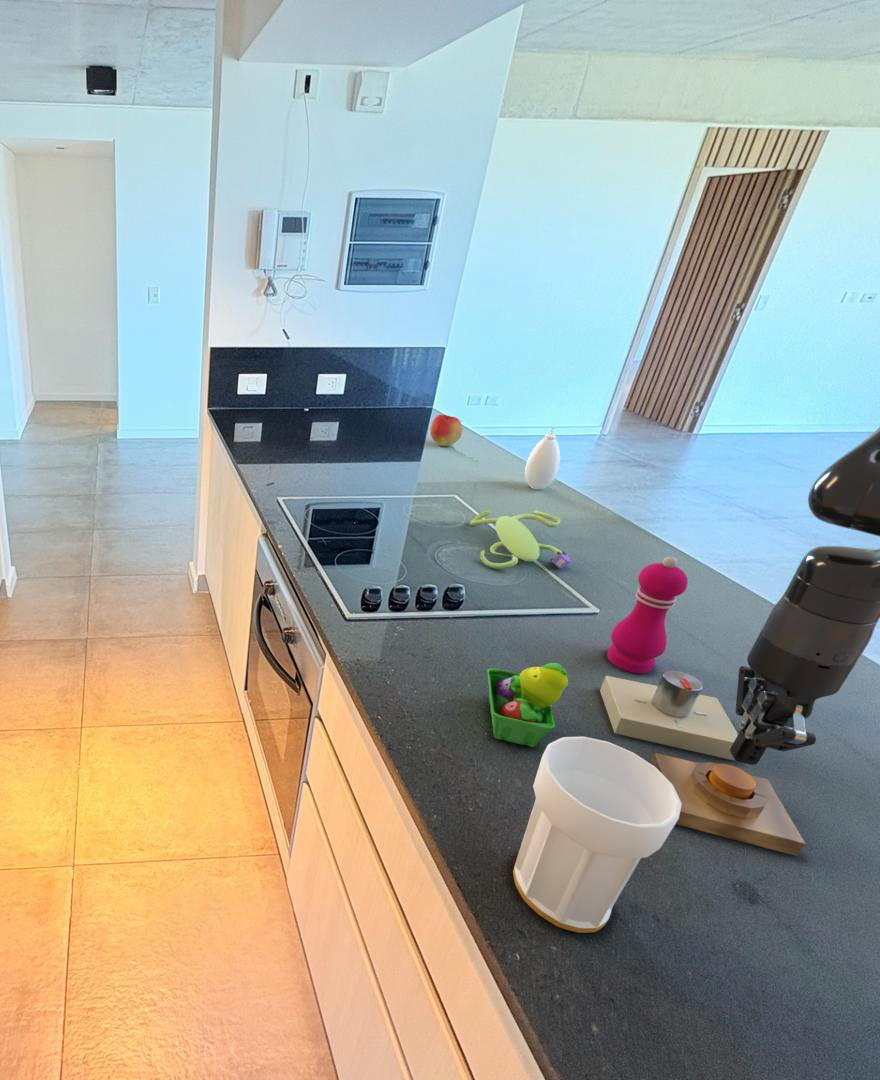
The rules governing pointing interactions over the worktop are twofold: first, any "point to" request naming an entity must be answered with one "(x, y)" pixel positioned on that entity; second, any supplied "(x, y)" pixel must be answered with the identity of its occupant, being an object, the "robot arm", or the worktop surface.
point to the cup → (590, 830)
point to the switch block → (729, 807)
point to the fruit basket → (525, 702)
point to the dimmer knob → (676, 693)
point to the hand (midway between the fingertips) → (742, 758)
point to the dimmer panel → (667, 719)
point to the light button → (732, 781)
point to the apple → (446, 430)
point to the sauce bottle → (543, 462)
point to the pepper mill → (647, 618)
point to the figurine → (519, 539)
